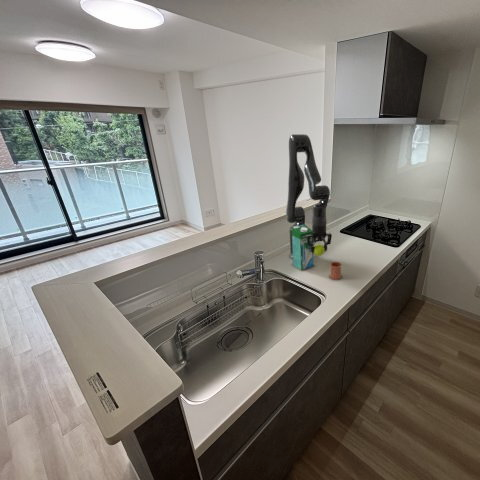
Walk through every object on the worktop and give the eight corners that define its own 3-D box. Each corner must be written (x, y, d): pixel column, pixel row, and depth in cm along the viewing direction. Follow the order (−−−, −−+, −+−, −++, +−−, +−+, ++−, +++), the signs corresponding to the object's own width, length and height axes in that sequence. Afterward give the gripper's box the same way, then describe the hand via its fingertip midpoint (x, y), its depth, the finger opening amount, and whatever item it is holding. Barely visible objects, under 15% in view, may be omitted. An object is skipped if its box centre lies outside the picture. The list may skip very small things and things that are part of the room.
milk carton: (301, 270, 154) (300, 230, 144) (292, 264, 160) (291, 226, 151) (313, 266, 159) (313, 227, 149) (304, 260, 165) (303, 223, 156)
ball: (312, 253, 148) (312, 243, 146) (322, 252, 149) (323, 242, 147) (314, 258, 142) (314, 247, 140) (325, 257, 143) (326, 246, 141)
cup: (329, 275, 148) (329, 262, 145) (338, 273, 149) (339, 261, 146) (332, 280, 143) (332, 267, 140) (342, 278, 144) (342, 266, 141)
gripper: (330, 220, 143) (329, 247, 149) (304, 222, 141) (304, 250, 147) (334, 224, 136) (333, 253, 143) (307, 226, 134) (307, 255, 140)
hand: (318, 251), depth 145 cm, fingers closed on ball, 6 cm apart
